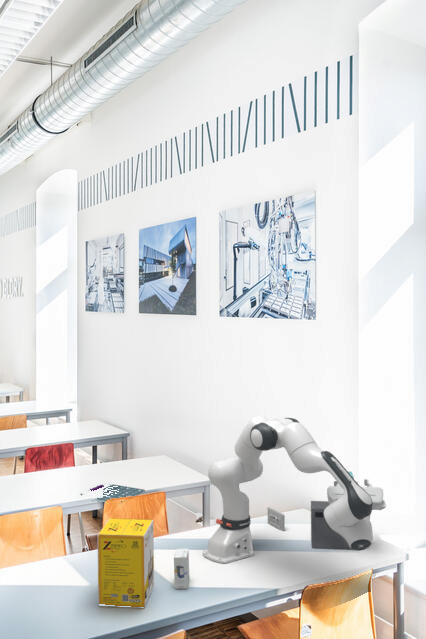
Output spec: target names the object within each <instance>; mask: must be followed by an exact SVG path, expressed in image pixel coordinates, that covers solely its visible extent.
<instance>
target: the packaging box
mask: <svg viewBox="0 0 426 639" xmlns="http://www.w3.org/2000/svg"><path fill="white" fill-rule="evenodd" d="M96 537H97V591H98V593H97V594H98V595H97V596H98V597H97V598H98V599H97V600H98V602H97V604H105V605H115V606H131V607H145V608H146V606H147V604H146V602H147V600H148V601H149V599H150V597H149V596H151V595H150V593H151V594H152V592H153V590H154V588H153V586H154V587H155V560H154V558H155V553H154V550H155V549H154V548H155V547H154V519H152V518H151V519H149V518H147V519H145V518H144V519H143V518H142V519H141V518H113V517H111V518H109V519H108V520H107V522H106V523H105V524H104V526H103V527H102V529H100V531H99V532H98V534H97V536H96ZM152 589H153V590H152ZM151 591H152V592H151ZM148 598H149V599H148ZM147 603H148V602H147ZM145 605H146V606H145Z"/></svg>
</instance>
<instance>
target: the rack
mask: <svg viewBox="0 0 426 639" xmlns="http://www.w3.org/2000/svg"><path fill="white" fill-rule="evenodd" d="M356 482H357V483H358V481H356ZM337 484H338V482H337V481H336V480H335V481H333V486H337ZM328 506H329V502H328V500H325V501H322V500H310V543H311V544H310V545H311V549H321V550H322V549H323V550H340V551H341V550H342V551H354V550H353V549H351V548H350V546H349V545H348V543H347V541H346V540H345V539H344V538H343V537H342V536H341V535H339V534H337V533H334V532H332V531H331V530H329V529H328V528H327V526H326V524H325V521H324V517H323V512H324V509H325V508H326V507H328Z"/></svg>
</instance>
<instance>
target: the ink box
mask: <svg viewBox="0 0 426 639" xmlns="http://www.w3.org/2000/svg"><path fill="white" fill-rule="evenodd" d="M189 554H190V553H189V548H176V549H175V553H174V556H173V568H174V570H173V571H174V573H173V575H174V577H173V578H174V589H175V590H177V589H178V590H179V589H185V590H186V589H189V585H190V558H189V557H190V555H189Z"/></svg>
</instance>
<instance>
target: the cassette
mask: <svg viewBox="0 0 426 639" xmlns="http://www.w3.org/2000/svg"><path fill="white" fill-rule="evenodd" d="M285 517H286V516H285V513H282V512H280V511H278V510H276V509H273V507H272V508H271V507H269V506H268V507H267V524H268V525H270V526H271V527H273V528H275V529H277V530H279V531H282V532H285V530H286V529H285V523H286V522H285V520H286V519H285Z"/></svg>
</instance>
